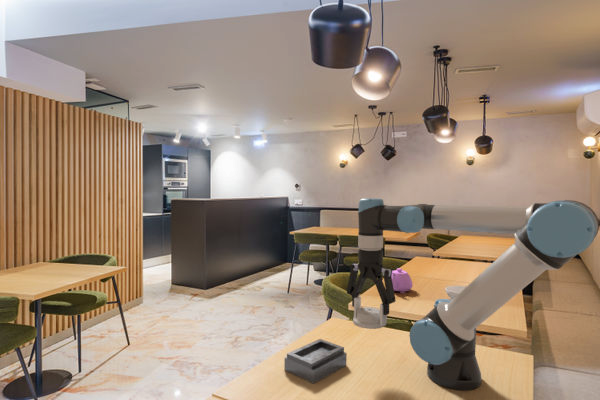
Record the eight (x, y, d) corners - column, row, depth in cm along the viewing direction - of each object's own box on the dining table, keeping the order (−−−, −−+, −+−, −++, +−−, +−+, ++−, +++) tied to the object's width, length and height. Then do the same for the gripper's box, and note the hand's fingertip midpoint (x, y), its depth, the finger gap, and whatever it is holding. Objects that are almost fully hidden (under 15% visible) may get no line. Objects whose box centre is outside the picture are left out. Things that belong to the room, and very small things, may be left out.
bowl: (437, 301, 193) (438, 287, 192) (460, 297, 200) (460, 284, 200) (464, 311, 178) (465, 296, 178) (487, 306, 186) (488, 291, 186)
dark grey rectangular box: (351, 362, 126) (352, 345, 126) (313, 383, 112) (313, 365, 112) (323, 351, 134) (323, 335, 134) (284, 370, 120) (284, 352, 120)
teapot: (405, 297, 199) (406, 274, 199) (379, 293, 207) (379, 270, 206) (416, 288, 216) (417, 267, 216) (392, 285, 224) (392, 264, 223)
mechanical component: (391, 323, 120) (363, 316, 127) (391, 309, 120) (363, 303, 127) (375, 332, 113) (346, 324, 119) (375, 317, 113) (347, 310, 119)
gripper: (408, 250, 114) (407, 326, 115) (349, 243, 129) (348, 310, 130) (395, 254, 109) (395, 333, 110) (335, 246, 123) (335, 316, 124)
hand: (370, 321), depth 120 cm, fingers closed on mechanical component, 9 cm apart
